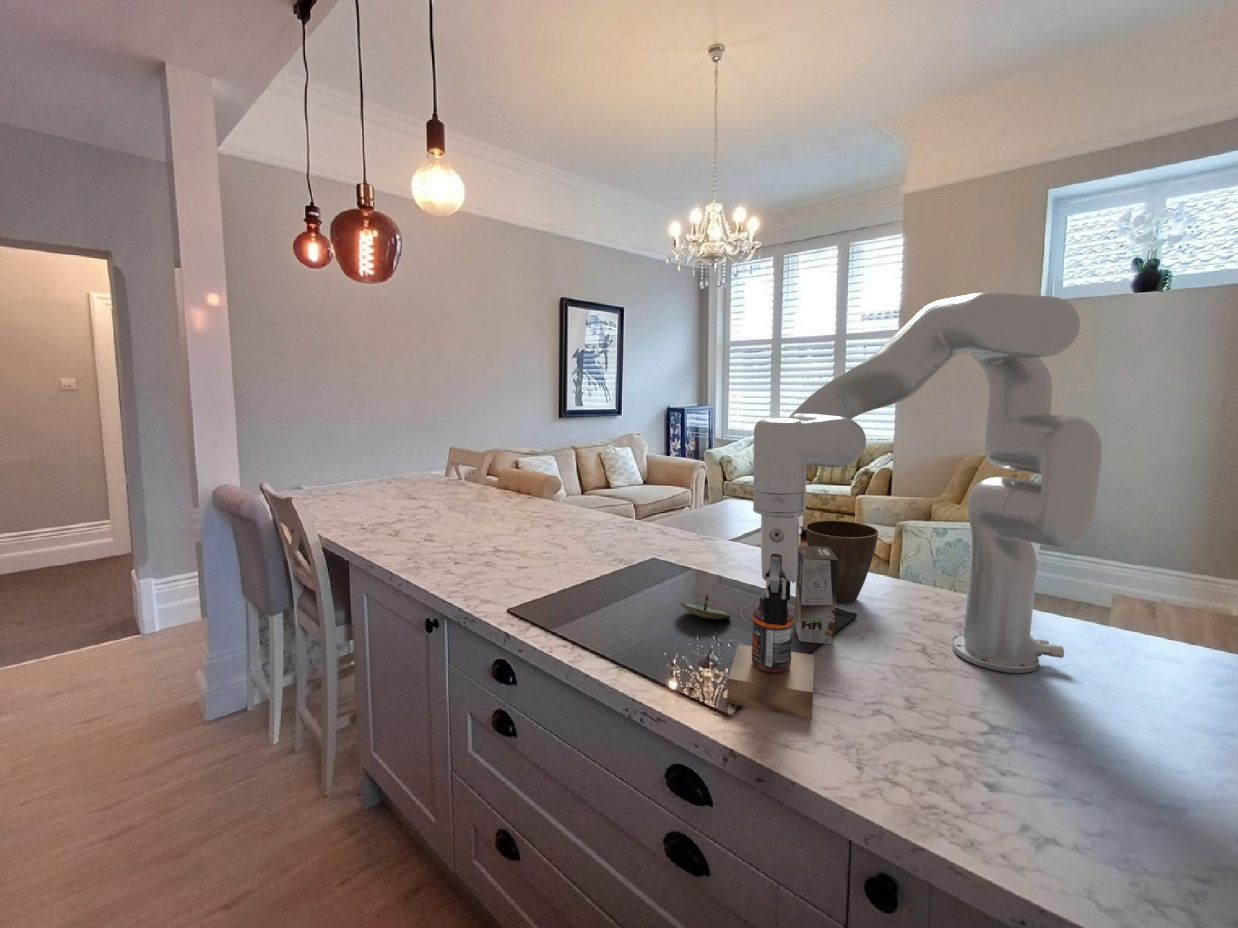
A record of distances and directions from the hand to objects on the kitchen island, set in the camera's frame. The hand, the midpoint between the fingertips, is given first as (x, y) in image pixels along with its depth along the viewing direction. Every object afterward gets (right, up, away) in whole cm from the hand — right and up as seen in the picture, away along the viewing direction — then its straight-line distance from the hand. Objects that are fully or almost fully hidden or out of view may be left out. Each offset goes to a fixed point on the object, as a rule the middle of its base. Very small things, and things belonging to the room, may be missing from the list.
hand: (777, 610), depth 88 cm
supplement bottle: (-1, -9, +1) cm, 9 cm away
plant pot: (+25, -8, +40) cm, 48 cm away
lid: (-7, -9, +29) cm, 31 cm away
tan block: (-1, -13, +2) cm, 13 cm away
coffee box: (+13, -10, +22) cm, 28 cm away
